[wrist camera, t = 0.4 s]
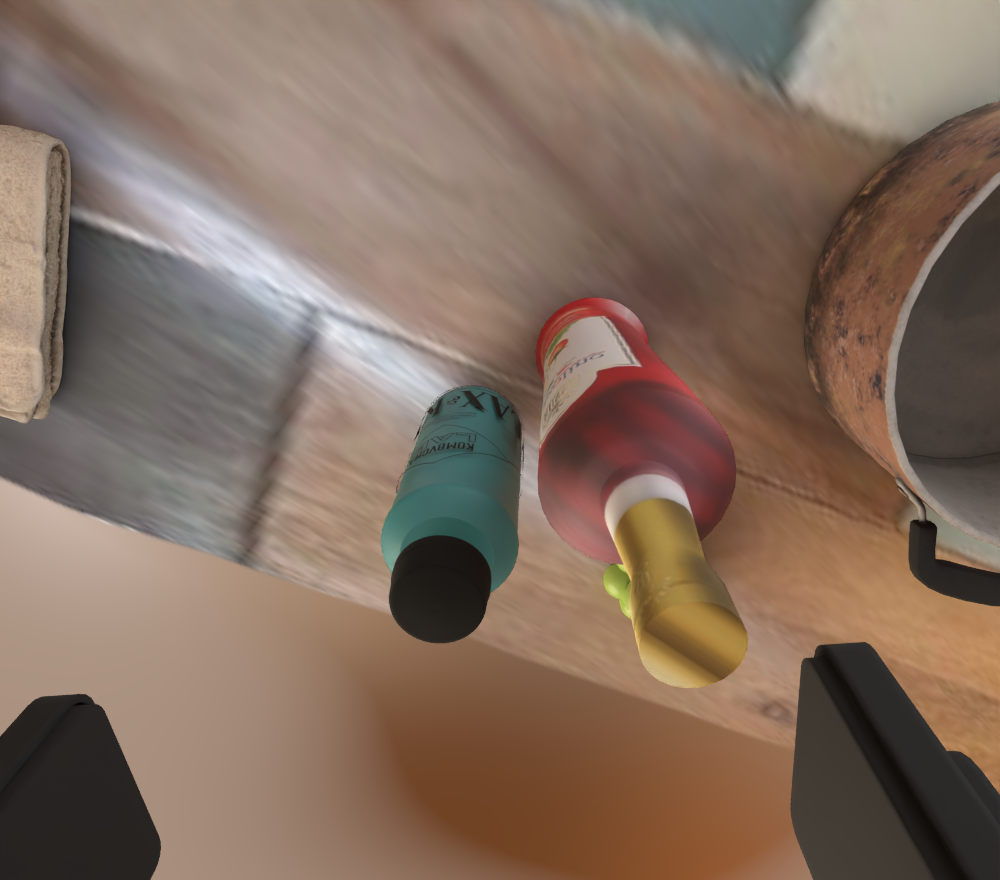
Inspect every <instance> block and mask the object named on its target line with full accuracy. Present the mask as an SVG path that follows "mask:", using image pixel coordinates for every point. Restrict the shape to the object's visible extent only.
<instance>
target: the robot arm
mask: <svg viewBox="0 0 1000 880" xmlns="http://www.w3.org/2000/svg"><path fill="white" fill-rule="evenodd" d="M791 818H792V823H793V827H794V831H795V834H796V837H797V840H798V843H799V845H800V848H801V850H802V853H803V855H804V858H805V860H806V862H807V865H808V868H809V870H810V873H811V875H812V878H813V880H1000V795H999V793H998V792H997V791H996V789H995V788H994V787H993V785H992V784H991V783H990V781H989V780H988V779H987V777H986V776H985V775H984V773H983V772H982V771H981V770H980V768H979V767H978V766H977V765H976V764H975V763H974V762H973V761H972V760H971V758H969V757H967V756H966V755H964V754H963V753H961V752H958V751H946V749H945V748H944V747H943V745H942V744H941V742H940V741H939V740H938V738H937V737H936V735H935V734H934V732H933V731H932V730H931V728H930V727H929V725H928V724H927V723H926V721H925V720H924V718H923V717H922V716H921V714H920V713H919V711H918V710H917V709H916V707H915V706H914V704H913V703H912V702H911V700H910V699H909V697H908V696H907V695H906V693H905V692H904V690H903V689H902V688H901V686H900V685H899V683H898V682H897V681H896V679H895V678H894V676H893V675H892V674H891V672H890V671H889V669H888V668H887V667H886V665H885V664H884V662H883V661H882V659H881V658H880V657H879V655H878V654H877V652H876V651H875V650H874V649H873V648H872V646H871V645H870V644H868V643H866V642H859V643H844V644H829V645H820V646H818V647H817V648H816V650H815V655H814V658H804V659H803V661H802V665H801V676H800V689H799V702H798V715H797V728H796V741H795V754H794V767H793V780H792V793H791ZM160 844H161V843H160V838H159V835H158V833H157V831H156V828H155V826H154V824H153V821H152V819H151V817H150V814H149V812H148V810H147V807H146V805H145V803H144V800H143V798H142V796H141V794H140V791H139V789H138V787H137V784H136V782H135V780H134V778H133V775H132V773H131V771H130V768H129V766H128V764H127V761H126V759H125V757H124V755H123V752H122V750H121V748H120V745H119V743H118V741H117V738H116V736H115V734H114V732H113V729H112V727H111V725H110V722H109V720H108V718H107V716H106V713H105V711H104V710H103V708H102V707H101V706H99V705H97V704H95V703H94V701H93V700H92V698H90V697H89V696H87V695H86V694H76V695H60V696H45V697H40V698H38V699H35V700H34V701H33V702H32V703H31V704H29V705H28V706H27V707H26V708H25V710H24V711H23V712H22V713H21V714H20V715H19V716H18V717H17V719H16V720H15V721H14V722H13V723H12V724H11V725H10V726H9V727H8V728H7V730H6V731H5V732H4V733H3V734H2V735H1V736H0V880H150V879H151V877H152V875H153V873H154V871H155V869H156V867H157V864H158V861H159V857H160V850H161V845H160Z"/></svg>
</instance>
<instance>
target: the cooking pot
mask: <svg viewBox="0 0 1000 880" xmlns="http://www.w3.org/2000/svg"><path fill="white" fill-rule="evenodd" d="M804 344H805V350H806V357H807V363H808V370H809V374H810V377H811V379H812V382H813V384H814V387H815V390H816V392H817V395H818V397H819V400H820V401H821V403H822V404H823V406H824V407H825V409H826V410H827V412H828V413H829V415H830V416H831V418H832V419H833V421H834V422H835V423H836V424H837V425H838V427H839V428H840V429H841V430H842V431H843V432H844V433H846V434H847V435H848V436H849V437H850V438H851V439H852V440H853V441H854V442H855V443H856V444H857V445H858V446H859V447H860V448H861V449H862V450H863V451H864V452H866V453H867V454H868V455H869V456H870V457H872V458H873V459H874V460H875V461H876V462H877V463H879V464H880V465H881V466H882V467H883V468H884V469H886V470H887V471H888V472H889V473H890V474H891V475H893V476H894V477H895V478H896V479H895V481H896V483H897V484H898V485H899V486H898V487H897V488H898V489H899V491H900V492H901V493H902V494H903V495H904V496H905V497H907V498H909V499H910V500H911V501H912V502H913V503H914V504H915V505H916V506H917V509H918V519H919V520H913V521H911V522H910V534H909V565H910V570H911V571H912V573H913V575H914V576H915V577H916V578H917V579H918V580H919V581H921V582H922V583H923V584H924V585H925V586H927V587H928V588H930V589H932V590H934V591H936V592H939V593H941V594H943V595H946V596H950V597H954V598H957V599H961V600H964V601H968V602H974V603H979V604H984V605H989V606H1000V573H995V572H990V571H985V570H981V569H976V568H972V567H968V566H964V565H960V564H957V563H953V562H950V561H946V560H940V559H935V545H936V535H937V527H936V525H935V524H934V523H932V522H931V521H928V520H927V519H926V509H925V506H924V504H923V502H924V503H925V504H927V505H928V506H929V507H930V508H931V509H932V510H934V511H935V512H936V513H937V514H938V515H939V516H941V517H942V518H943V519H944V520H945V521H947V522H948V523H950V524H952V525H954V526H955V527H957V528H959V529H960V530H962V531H964V532H965V533H967V534H969V535H970V536H972V537H974V538H975V539H978V540H981V541H984V542H986V543H989V544H992V545H995V546H998V547H1000V101H998V102H994V103H990V104H986V105H984V106H981V107H979V108H977V109H974V110H972V111H969V112H967V113H965V114H962V115H960V116H957V117H955V118H953V119H950V120H948V121H946V122H944V123H943V124H941V125H940V126H938V127H936V128H935V129H933V130H932V131H930V132H928V133H927V134H925V135H924V136H922V137H920V138H919V139H917V140H916V141H914V142H912V143H911V144H910V145H908V146H907V147H906V148H905V149H904V150H903V151H901V152H900V153H899V154H898V155H897V156H896V157H894V158H893V159H892V160H891V161H890V162H889V163H888V164H886V165H885V166H884V167H883V168H882V169H881V170H879V171H878V172H877V173H876V174H875V176H874V177H873V178H872V179H871V180H870V181H869V183H868V184H867V185H866V186H865V187H864V188H863V190H862V191H861V192H860V193H859V194H858V195H857V196H856V198H855V199H854V200H853V201H852V202H851V203H850V205H849V206H848V208H847V209H846V211H845V213H844V214H843V216H842V217H841V219H840V221H839V222H838V224H837V225H836V227H835V229H834V230H833V232H832V233H831V235H830V236H829V238H828V240H827V243H826V245H825V247H824V250H823V252H822V255H821V257H820V259H819V262H818V264H817V266H816V269H815V271H814V274H813V278H812V282H811V287H810V291H809V295H808V300H807V304H806V310H805V333H804ZM921 500H922V501H923V502H922V501H921Z"/></svg>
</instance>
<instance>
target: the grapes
mask: <svg viewBox="0 0 1000 880" xmlns="http://www.w3.org/2000/svg"><path fill="white" fill-rule="evenodd" d="M603 582H604V586H605V589H606V590H607V592H608V593H609V594H610V595H611V596H613V597H615V598H617V599H619V603H620V607H621V609H622V611H623V613H624V614H625V615H626V616H627V617H629V618H631V615H630V611H629V610H630V588H631V580H630V578H629V576H628V573H627V571H626V569H625V566H624V565H620V564H612V565H610V566H609V567H608V568H607V569H606V571H605V573H604V578H603Z"/></svg>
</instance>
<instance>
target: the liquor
mask: <svg viewBox="0 0 1000 880" xmlns="http://www.w3.org/2000/svg"><path fill="white" fill-rule="evenodd" d="M536 364H537V368H538V372H539V374H540V377H541V379H542V381H543V382H544V391H543V405H542V414H541V422H540V442H539V465H538V494H539V498H540V501H541V505H542V509H543V512H544V513H545V515H546V517H547V519H548V521H549V523H550V525H551V526H552V528H553V529H554V530H555V531H556V532H557V534H558V535H559V536H560V537H561V538H562V539H563V540H564V541H565V542H567V543H568V544H569V545H570V546H572V547H573V548H574V549H576V550H577V551H579V552H581V553H583V554H585V555H587V556H589V557H591V558H594V559H597V560H600V561H603V562H606V563H613V564H620V565H624V566H625V569H626V571H627V573H628V576H629V578H630V580H631V588H630V610H629V611H630V615H631V619H632V624H633V628H634V632H635V637H636V641H637V645H638V649H639V654H640V658H641V661H642V663H643V665H644V667H645V668H646V669H647V671H648V672H649V673H650V674H651V675H652V676H654V677H655V678H656V679H657V680H659V681H661V682H663V683H665V684H668V685H672V686H675V687H682V688H697V687H702V686H707V685H710V684H713V683H716V682H718V681H720V680H722V679H724V678H725V677H727V676H728V675H729V674H731V673H732V672H733V671H734V670H735V669H736V668H737V667H738V666H739V665H740V663H741V662H742V660H743V658H744V656H745V653H746V651H747V645H748V637H747V631H746V629H745V627H744V624H743V622H742V620H741V618H740V616H739V614H738V612H737V609H736V607H735V605H734V603H733V601H732V599H731V597H730V595H729V592H728V590H727V588H726V586H725V584H724V583H723V581H722V580H721V579H720V577H719V576H718V575H717V574H716V572H715V571H714V570H713V568H712V567H711V566H710V565H709V563H708V562H707V561H706V560H705V557H704V554H703V550H702V547H701V543H700V541H701V540H702V539H703V538H704V537H706V536H707V535H708V534H709V533H710V532H711V531H712V530H713V528H714V527H715V526H716V525H717V524H718V522H719V521H720V520H721V518H722V517H723V515H724V513H725V511H726V509H727V507H728V506H729V504H730V501H731V498H732V494H733V491H734V488H735V480H736V463H735V456H734V450H733V448H732V445H731V443H730V440H729V438H728V435H727V434H726V432H725V431H724V429H723V428H722V426H721V425H720V423H719V422H718V420H717V419H716V418H715V417H714V416H713V415H712V414H711V413H710V412H709V410H708V409H707V408H706V407H705V406H704V405H703V404H702V403H701V402H700V400H699V399H698V398H697V397H696V396H695V395H694V393H693V392H692V391H691V390H690V389H689V388H688V386H687V385H686V384H685V383H684V382H683V381H682V380H681V379H680V378H679V377H678V376H677V375H676V374H675V373H674V372H673V371H672V370H671V369H670V368H669V367H668V366H667V365H666V364H665V363H664V362H663V361H662V360H661V359H660V358H659V357H658V356H657V354H656V353H655V352H654V351H653V350H652V349H651V347H650V346H649V344H648V339H647V334H646V332H645V330H644V327H643V325H642V324H641V322H640V321H639V319H638V318H637V316H636V315H635V314H634V313H633V312H631V311H630V310H629V309H628V308H626V307H625V306H623V305H622V304H620V303H618V302H615V301H612V300H609V299H604V298H585V299H581V300H577V301H574V302H571V303H569V304H567V305H565V306H563V307H562V308H561V309H559V310H558V311H557V312H555V313H554V314H553V315H552V316H551V317H550V318H549V320H548V321H547V322H546V324H545V325H544V327H543V328H542V330H541V332H540V335H539V338H538V340H537V346H536Z"/></svg>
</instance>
